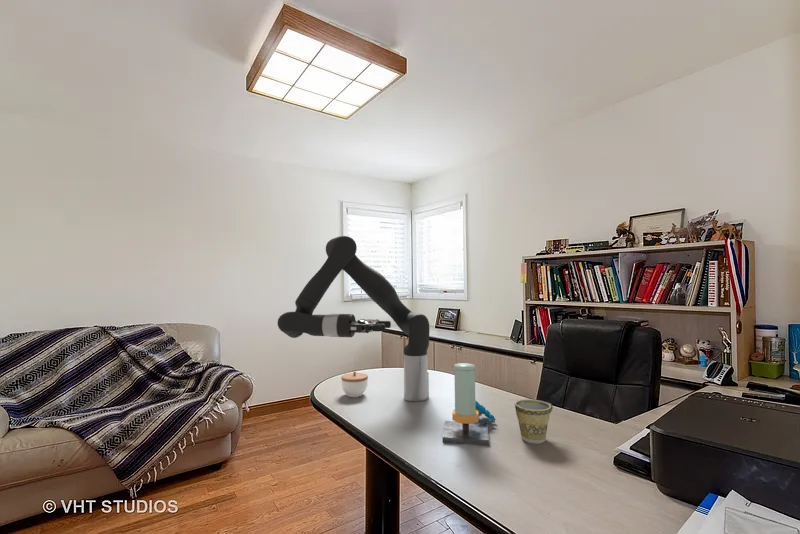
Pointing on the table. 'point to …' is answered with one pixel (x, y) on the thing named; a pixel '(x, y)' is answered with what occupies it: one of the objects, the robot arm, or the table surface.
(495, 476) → the table surface
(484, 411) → the blue toy dinosaur
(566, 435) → the table surface
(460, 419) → the collar
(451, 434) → the post stand
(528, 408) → the ceramic cup
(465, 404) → the pale green canister
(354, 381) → the lidded jar
